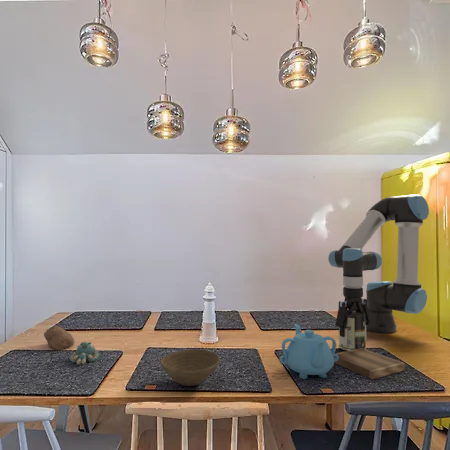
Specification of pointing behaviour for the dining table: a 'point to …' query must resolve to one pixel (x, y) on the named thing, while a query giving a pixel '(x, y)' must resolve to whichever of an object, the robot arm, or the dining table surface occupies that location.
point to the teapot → (309, 353)
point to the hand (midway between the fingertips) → (353, 342)
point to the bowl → (190, 366)
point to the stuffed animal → (84, 353)
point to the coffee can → (354, 332)
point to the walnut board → (369, 363)
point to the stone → (58, 338)
